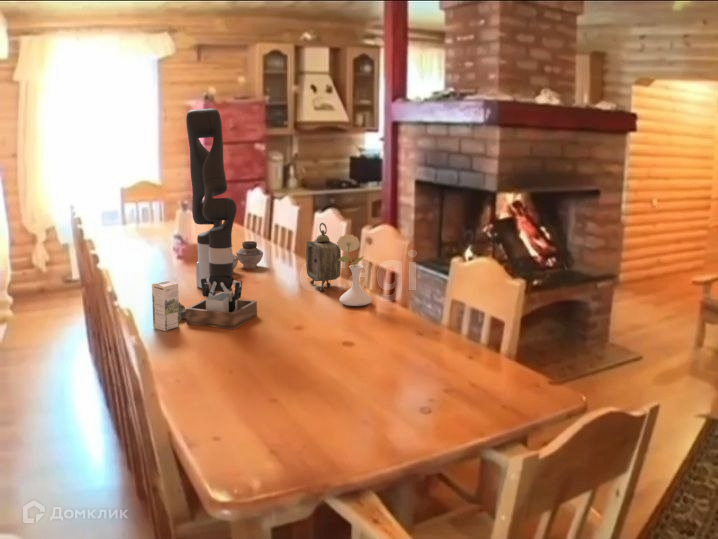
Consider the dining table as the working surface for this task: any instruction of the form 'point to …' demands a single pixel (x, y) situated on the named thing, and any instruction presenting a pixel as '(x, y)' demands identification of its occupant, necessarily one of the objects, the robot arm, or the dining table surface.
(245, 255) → the pottery
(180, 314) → the egg carton
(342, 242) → the flower in vase
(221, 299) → the small crate
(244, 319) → the walnut crate
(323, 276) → the tabletop clock
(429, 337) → the dining table surface
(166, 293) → the syrup box
